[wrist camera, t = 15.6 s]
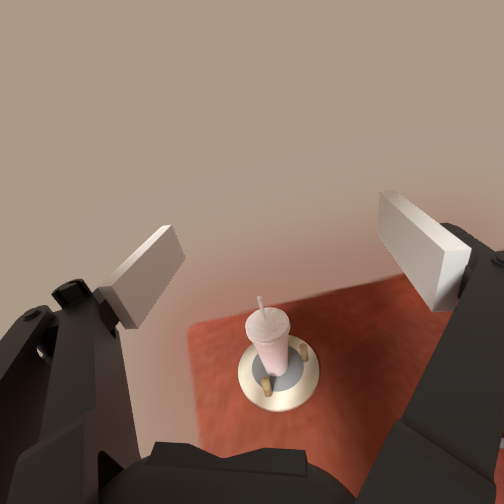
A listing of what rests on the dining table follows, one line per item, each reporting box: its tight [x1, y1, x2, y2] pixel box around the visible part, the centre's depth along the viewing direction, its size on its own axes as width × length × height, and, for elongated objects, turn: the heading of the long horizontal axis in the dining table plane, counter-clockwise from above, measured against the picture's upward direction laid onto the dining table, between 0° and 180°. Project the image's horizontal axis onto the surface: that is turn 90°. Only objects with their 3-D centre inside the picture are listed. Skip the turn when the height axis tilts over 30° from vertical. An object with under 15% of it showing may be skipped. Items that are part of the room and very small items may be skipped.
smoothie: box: [245, 296, 290, 376], centre depth 35 cm, size 6×6×14 cm
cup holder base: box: [238, 335, 319, 412], centre depth 38 cm, size 13×13×4 cm
